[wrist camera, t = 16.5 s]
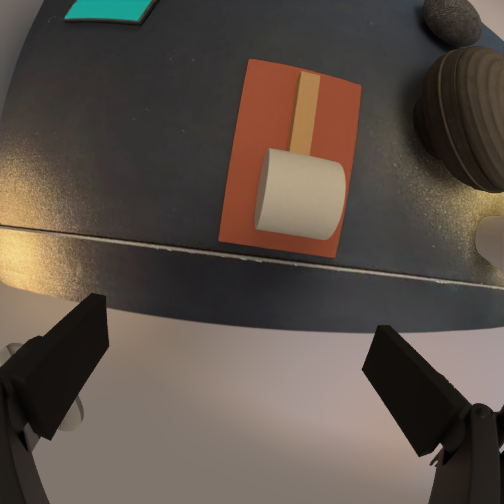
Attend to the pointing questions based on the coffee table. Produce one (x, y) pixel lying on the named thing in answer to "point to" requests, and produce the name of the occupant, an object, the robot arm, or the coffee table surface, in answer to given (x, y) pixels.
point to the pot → (465, 116)
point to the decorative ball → (453, 21)
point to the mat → (284, 149)
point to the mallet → (300, 177)
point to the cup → (491, 240)
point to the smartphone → (110, 11)
